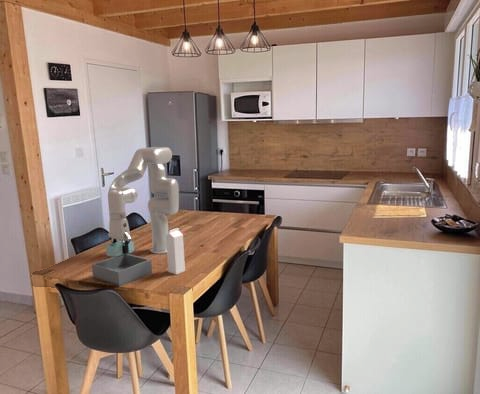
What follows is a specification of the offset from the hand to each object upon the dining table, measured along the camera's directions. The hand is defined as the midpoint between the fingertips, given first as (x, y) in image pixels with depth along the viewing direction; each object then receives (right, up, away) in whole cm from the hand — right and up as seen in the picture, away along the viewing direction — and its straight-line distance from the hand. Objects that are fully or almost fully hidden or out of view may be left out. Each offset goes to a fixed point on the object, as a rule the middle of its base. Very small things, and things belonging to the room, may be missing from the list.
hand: (120, 251), depth 204 cm
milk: (+26, -11, +6) cm, 29 cm away
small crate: (0, -1, 0) cm, 1 cm away
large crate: (+1, -12, +3) cm, 12 cm away
